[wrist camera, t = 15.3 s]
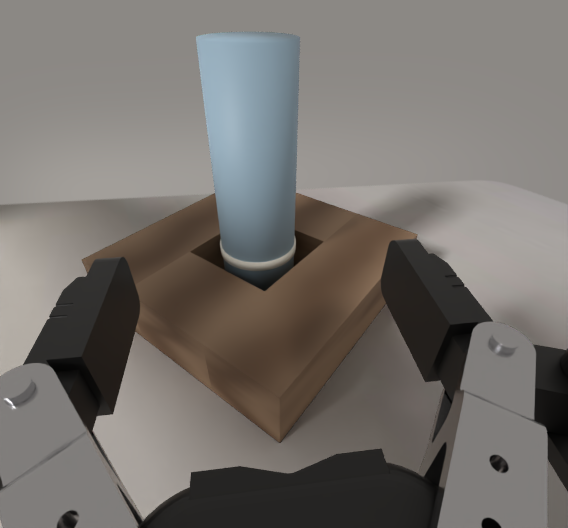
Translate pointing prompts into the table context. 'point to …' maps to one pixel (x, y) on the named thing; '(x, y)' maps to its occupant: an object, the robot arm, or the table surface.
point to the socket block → (258, 305)
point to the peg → (253, 148)
